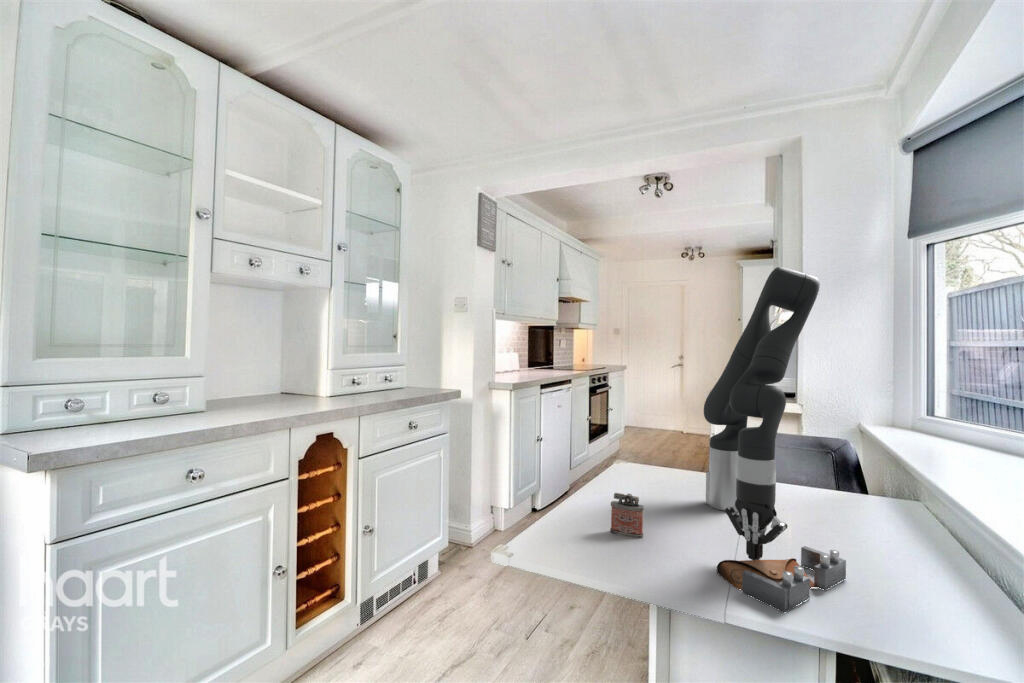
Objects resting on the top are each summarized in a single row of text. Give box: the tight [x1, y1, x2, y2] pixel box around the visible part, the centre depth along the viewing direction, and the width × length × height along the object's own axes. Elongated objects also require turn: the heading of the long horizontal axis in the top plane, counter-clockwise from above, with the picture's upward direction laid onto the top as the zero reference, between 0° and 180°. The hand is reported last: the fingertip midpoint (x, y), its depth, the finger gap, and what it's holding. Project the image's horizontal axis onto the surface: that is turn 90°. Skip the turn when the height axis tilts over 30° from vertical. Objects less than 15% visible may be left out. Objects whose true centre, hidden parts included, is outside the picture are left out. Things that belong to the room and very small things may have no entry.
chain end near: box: [741, 565, 811, 613], centre depth 91 cm, size 8×9×6 cm
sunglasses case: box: [716, 557, 816, 591], centre depth 98 cm, size 18×7×7 cm, turn 98°
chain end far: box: [800, 545, 847, 591], centre depth 99 cm, size 8×9×6 cm
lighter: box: [609, 492, 645, 540], centre depth 120 cm, size 8×3×10 cm, turn 65°
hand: (754, 558), depth 103 cm, fingers closed
